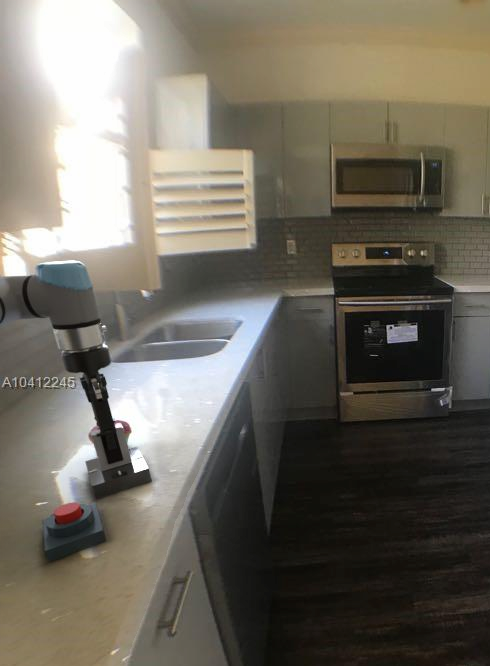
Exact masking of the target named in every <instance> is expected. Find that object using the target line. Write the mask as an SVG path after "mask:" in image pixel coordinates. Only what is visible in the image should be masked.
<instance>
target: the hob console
mask: <svg viewBox="0 0 490 666" xmlns="http://www.w3.org/2000/svg"><path fill="white" fill-rule="evenodd" d="M129 452H130V456H131V459H132V463H128V464H125V465H122V466H118V467H115V468H112V469H108V470H105V471H102V470H101V467H100V464H99V460H98V457H95V458H92V459H88V460H86V461H85V467H86V470H87V473H88V477H89V482H90V485H91V488H92V489H91V490H92V492H93V496H94V498H95V500H98V499H101V498H105V497H107V496H111V495H113V494H117V493H119V492H123V491H126V490H129V489H131V488H134V487H138V486H141V485H144V484H148V483H149V482H150V483H151V482H152V481H153V479H152V475H151V471H150V468H149V466H148V464H147V462H146V460H145V458H144V455H143V454H142V451H140V448H139V446H134V447H131V448H129Z"/></svg>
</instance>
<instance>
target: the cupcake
mask: <svg viewBox="0 0 490 666" xmlns="http://www.w3.org/2000/svg"><path fill="white" fill-rule="evenodd" d="M115 421H116V423H114V424H117V423H120V424H122V426H123V429H124V433H125V437H126V441H127V444H128V443H129V439H130V435H131V434H132V428H131V426H130V423H128V422H127V421H124V420H121V419H120V420H119V419H115ZM98 428H99V427H98V426H97V425H95V426H93V427H92V428H91V429H90V431H93V430H97V429H98ZM87 437H88V440H89V441H90V442H91V443H92V445H94V443H93V440H92V437H91V433H90V432H89V433H88V435H87ZM128 445H129V444H128Z"/></svg>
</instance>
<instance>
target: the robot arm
mask: <svg viewBox="0 0 490 666" xmlns="http://www.w3.org/2000/svg"><path fill="white" fill-rule="evenodd" d="M34 269H35V274H30V275H10V276H9V275H8V276H7V275H6V276H0V326H3V325H6V324H9V323H12V322H14V321H19V320H29V319H31V320H33V319H46V318H47V319H48V318H49V320H50V323H51V326H52V331H53V335H54V338H55V343H56V345H57V348H58V350H60V351H61V353H60V357H61V360H62V364H63V367H64V370H65V371H66V372H68V373H71V374H79V373H81V374H82V376H80V377H78V378H79V382H80V385H81V387H82V390H83V391H84V394H85V396H86V399H87V401H88V403H90V405H91V408H92V412H93V415H94V417H93V418H94V419H93V420H95V422H96V425H97V426H98V427H99V428H98V429H100V433H96V435H97V437H100V436H101V440H102V443H103V447H104V451H105V454H106V458H107V461H108V464H112V463H116V462H119V461H122V460H124V459H123V456H122V452H121V448H120V444H119V441H118V437H117V433H116V428H115V425H114V423H116V421H115V420H116V419H115V418H113V414H112V411H111V406H110V403H109V398H110V396H109V392H108V388H107V385H108V383H107V380H106V376H105V375H104V372H101V373H100V372H99V371H100V370H102V369H105V368H107V367H109V366H110V365H111V363H112V357H111V354H110V350H109V346H108V345H106V343H107V340H106V337H105V336H106V335H105V333H104V332H107V330H108V328H107V326H105V325H103V326H102V322H101V318H100V317H101V316H100V314H99V310H98V309H99V308H98V306H97V301H96V296H95V293H94V285H93V284H92V281H91V279H90V275H89V272H88V269H87V267H86V265H85V264H84V263H83V262H81V261H78V260H61V261H49V262H42V263H41V262H40V263H38V264H36V265H35V268H34ZM96 425H95V426H96Z"/></svg>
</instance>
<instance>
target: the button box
mask: <svg viewBox="0 0 490 666" xmlns="http://www.w3.org/2000/svg"><path fill="white" fill-rule="evenodd" d="M79 504H80V507H81V510H82V516H81V517H79V518H78V519H76V520H75V521H72V522H69V523H66V524H59V523H57V520H56V518H55V515H54V513H52V514H51V515H50V516H49V517H47V518H44V519H42V531H43V544H44V554H45V556H46V558H47V561H48V563H52V562H53V561H56V560H59V559H62V558H64V557H67V556H70V555H73V554H74V553H78V552H80V551H83V550H85V549H88V548H91V547H93V546H96V545H99V544H101V543H104V542H106V541H107V537H106V534H105V528H104V525H103V522H102V518H101V515H100V511H99V507H98V504H97V502H96V501H95V502H91V503H89V504H86V503H79Z"/></svg>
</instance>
